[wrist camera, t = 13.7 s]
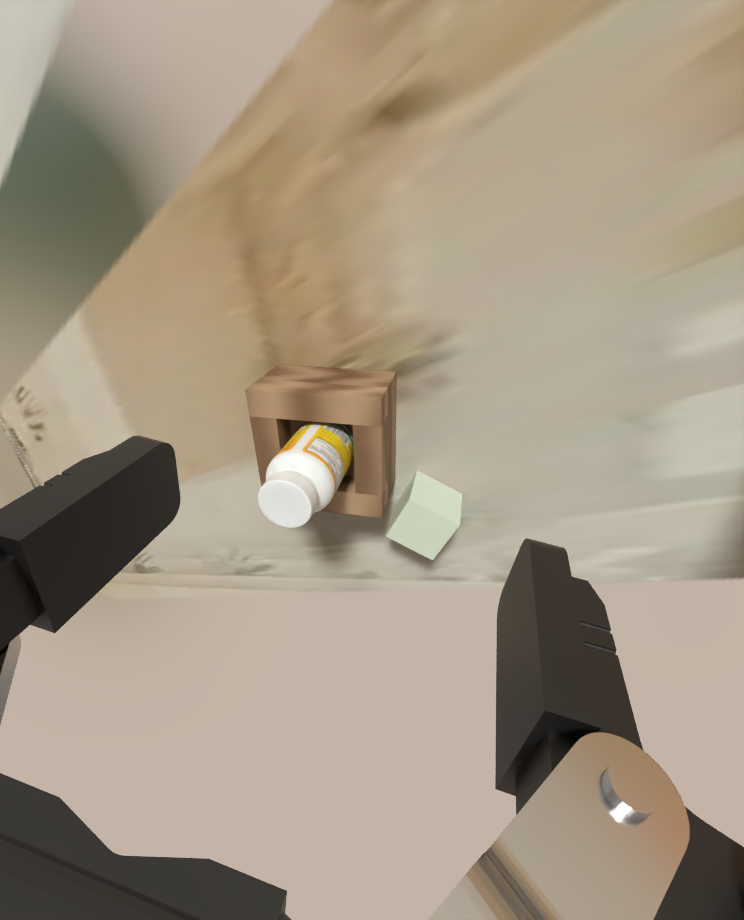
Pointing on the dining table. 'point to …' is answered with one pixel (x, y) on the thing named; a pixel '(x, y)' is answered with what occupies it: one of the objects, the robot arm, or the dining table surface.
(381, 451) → the brown open box
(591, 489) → the dining table surface
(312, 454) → the supplement bottle
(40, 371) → the dining table surface
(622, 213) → the dining table surface
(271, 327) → the dining table surface
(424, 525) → the green cube
